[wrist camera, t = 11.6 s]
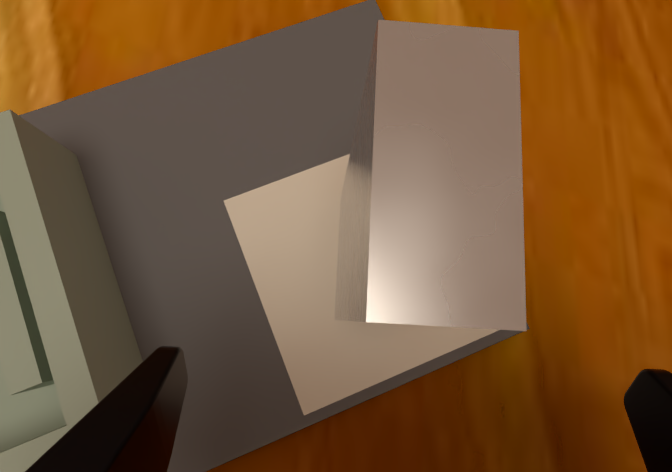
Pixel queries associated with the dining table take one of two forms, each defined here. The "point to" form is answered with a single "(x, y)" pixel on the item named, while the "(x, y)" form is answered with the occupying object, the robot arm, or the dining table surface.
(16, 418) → the storage box
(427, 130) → the rectangular steel block
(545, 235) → the dining table surface
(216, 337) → the mat
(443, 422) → the dining table surface
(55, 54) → the dining table surface
